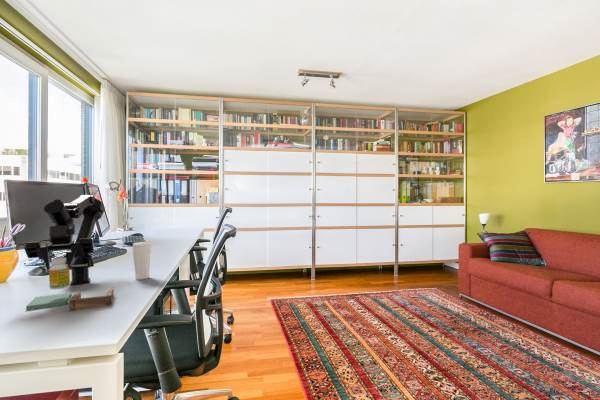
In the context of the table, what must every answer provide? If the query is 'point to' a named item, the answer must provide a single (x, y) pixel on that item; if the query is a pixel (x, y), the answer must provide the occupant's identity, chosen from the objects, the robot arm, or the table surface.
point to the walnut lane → (90, 301)
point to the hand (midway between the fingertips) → (58, 268)
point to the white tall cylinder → (142, 259)
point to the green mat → (49, 301)
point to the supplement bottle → (59, 274)
